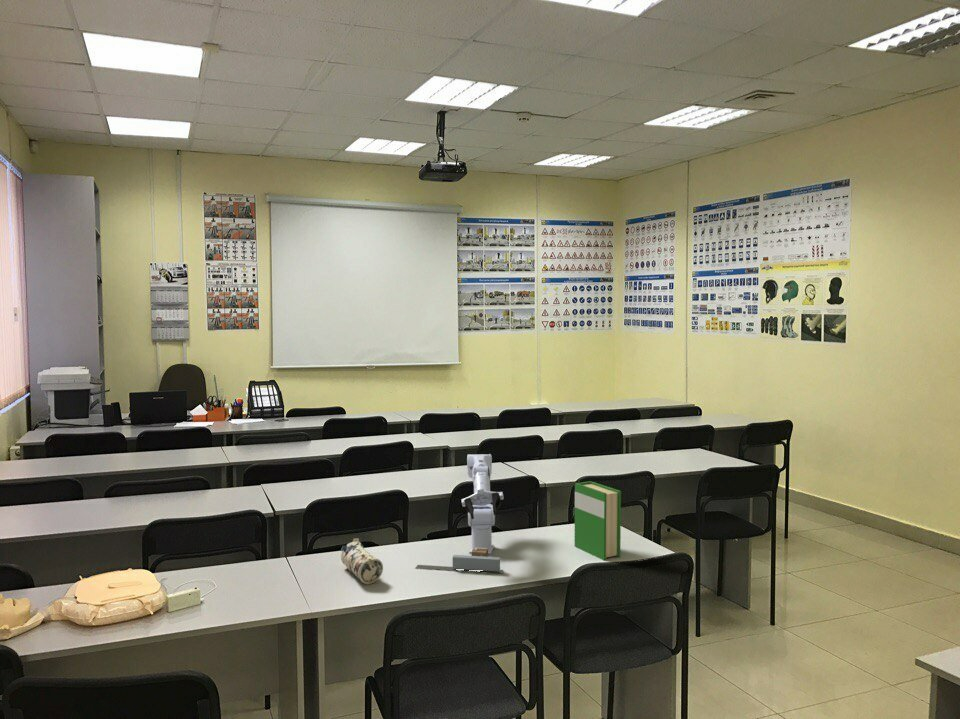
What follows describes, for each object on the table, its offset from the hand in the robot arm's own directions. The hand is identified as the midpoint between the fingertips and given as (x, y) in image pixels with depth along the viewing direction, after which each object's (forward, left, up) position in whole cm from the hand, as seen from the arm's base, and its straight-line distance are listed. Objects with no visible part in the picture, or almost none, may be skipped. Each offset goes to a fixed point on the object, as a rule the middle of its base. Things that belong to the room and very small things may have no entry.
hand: (483, 514), depth 243 cm
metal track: (-1, -9, -20) cm, 21 cm away
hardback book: (-28, +37, -20) cm, 51 cm away
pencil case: (+10, -40, -20) cm, 45 cm away
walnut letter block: (-8, -3, -20) cm, 21 cm away
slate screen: (-1, -3, -20) cm, 20 cm away
